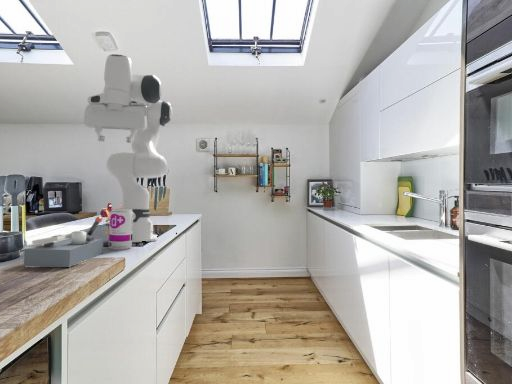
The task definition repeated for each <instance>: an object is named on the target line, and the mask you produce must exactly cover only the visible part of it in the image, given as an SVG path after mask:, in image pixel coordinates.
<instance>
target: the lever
mask: <svg viewBox="0 0 512 384" xmlns="http://www.w3.org/2000/svg"><path fill="white" fill-rule="evenodd" d="M102 221H103V218H102V217H101V216H97V217H96V218H95V219H94V222H93V223H92V226H90V228H89V230H88V231H87V232H86V235H88V236H89V237H92V234H94V232H95V230H96V229H97V227H98V226H99V224H101V222H102Z"/></svg>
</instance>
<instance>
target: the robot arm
mask: <svg viewBox="0 0 512 384" xmlns="http://www.w3.org/2000/svg"><path fill="white" fill-rule="evenodd" d="M103 79H104V88H103V92H102V93H98V94H94V95H90V96H88V97H87V103H88V104H87V105H86V107H85V110H84V114H83V115H84V117H83V124H84V125H85V127H88V128H89V129H94V130H95V133H96V135H97V141H99V142H105V138H106V137H105V136H104V135H102V131H103V129H104V130H105V129H106V130H126V131H130V135H129V136H126V143H129V144H131V149H132V151H133V152H117V153H112V154H110V155H109V157H108V158H107V161H106V168H107V171H108V172H109V174H111V176H113V178H115V179H116V180H117V182H118V183H119V185H120V188H121V192H122V208H121V209H132V212H133V232H132V243H143V242H142V241H146V242H155V241H157V240H156V239H157V238H158V237H157V236H158V234H154V233H155V230H154V224H153V222H152V220H151V218H150V217H151V209H150V192H149V190H148V189H147V188H146V187H144V186H142V185H140V184H139V183H138V180H137V179H156V178H162V177H164V175H166V174H167V172H168V162H167V160H166V158H165V157H164V156H163V155H162V154H159V153H158V151H157V148H158V144H159V140H160V126H162V127H165V126H166V124H168V123H169V122H170V121H171V120H172V118H173V115H174V112H173V111H174V110H173V107H172V106H173V105H172V104H171V103H170V102H168V101H165V100H161V97H162V94H163V87H162V83H161V80H160V79H159V78H158V77H157V76H156V75H154V74H146V75H145V74H133V67H132V60H131V58H130V57H129V56H127V55H123V54H114V53H113V54H109V55H107V57H106V60H105V66H104V75H103Z"/></svg>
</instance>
